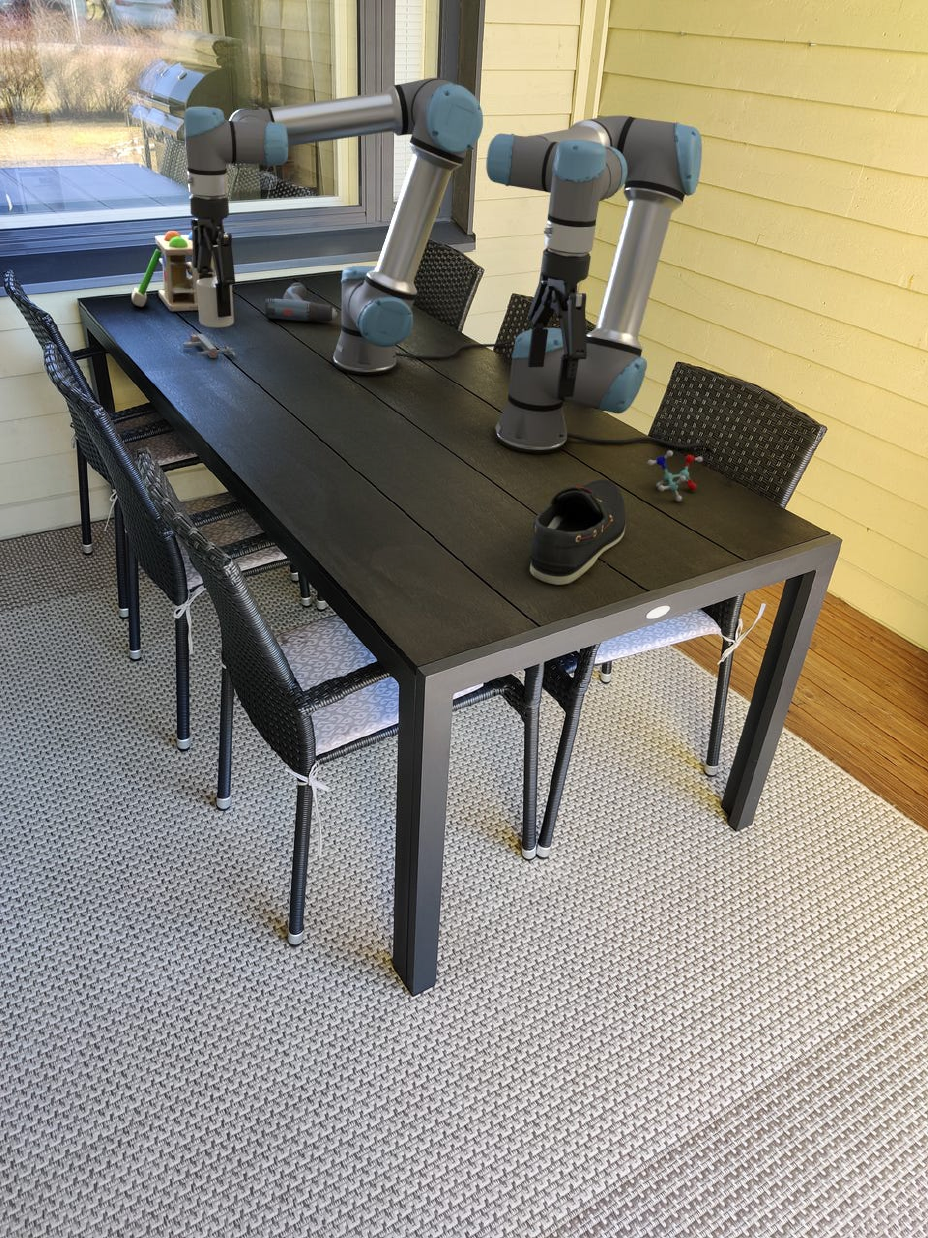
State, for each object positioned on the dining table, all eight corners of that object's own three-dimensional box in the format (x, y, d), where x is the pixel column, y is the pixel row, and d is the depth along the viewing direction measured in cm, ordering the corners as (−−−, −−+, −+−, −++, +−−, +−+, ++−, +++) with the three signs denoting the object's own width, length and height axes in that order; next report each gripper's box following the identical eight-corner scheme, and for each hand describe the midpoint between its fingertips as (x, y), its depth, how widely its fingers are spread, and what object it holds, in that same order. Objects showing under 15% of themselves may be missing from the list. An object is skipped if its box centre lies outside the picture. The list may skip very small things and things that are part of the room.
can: (192, 320, 208) (189, 280, 203) (219, 314, 213) (216, 275, 208) (213, 329, 204) (211, 289, 200) (240, 322, 209) (238, 283, 204)
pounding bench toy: (137, 313, 255) (129, 242, 244) (126, 297, 265) (119, 228, 255) (225, 308, 264) (221, 239, 254) (211, 293, 274) (207, 225, 264)
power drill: (344, 304, 276) (335, 327, 259) (277, 298, 275) (264, 321, 258) (344, 285, 273) (335, 306, 256) (277, 279, 272) (264, 300, 255)
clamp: (178, 335, 238) (218, 331, 242) (178, 343, 239) (218, 340, 243) (197, 356, 227) (238, 351, 232) (197, 365, 228) (239, 360, 233)
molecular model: (706, 495, 186) (690, 444, 184) (657, 509, 189) (642, 459, 188) (711, 487, 196) (697, 439, 195) (665, 501, 200) (651, 454, 198)
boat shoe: (648, 521, 183) (657, 470, 178) (567, 591, 159) (574, 534, 154) (587, 503, 189) (593, 452, 184) (499, 567, 165) (504, 512, 160)
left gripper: (169, 185, 199) (179, 299, 211) (213, 207, 186) (221, 327, 199) (203, 183, 203) (211, 295, 216) (249, 204, 190) (254, 322, 203)
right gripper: (518, 229, 162) (504, 355, 174) (575, 272, 142) (555, 410, 154) (560, 230, 164) (543, 354, 176) (622, 273, 145) (599, 408, 156)
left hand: (216, 310), depth 207 cm, fingers closed on can, 7 cm apart
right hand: (549, 381), depth 165 cm, fingers open, 13 cm apart
